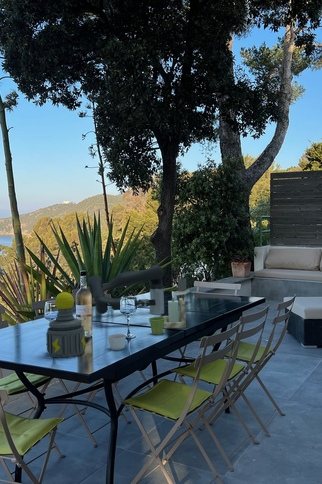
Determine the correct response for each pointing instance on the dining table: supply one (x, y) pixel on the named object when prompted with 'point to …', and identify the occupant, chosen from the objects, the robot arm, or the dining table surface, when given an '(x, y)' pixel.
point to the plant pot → (157, 325)
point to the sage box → (173, 311)
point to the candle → (116, 341)
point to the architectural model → (181, 289)
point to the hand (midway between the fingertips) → (155, 302)
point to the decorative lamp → (65, 330)
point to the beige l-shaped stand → (181, 317)
